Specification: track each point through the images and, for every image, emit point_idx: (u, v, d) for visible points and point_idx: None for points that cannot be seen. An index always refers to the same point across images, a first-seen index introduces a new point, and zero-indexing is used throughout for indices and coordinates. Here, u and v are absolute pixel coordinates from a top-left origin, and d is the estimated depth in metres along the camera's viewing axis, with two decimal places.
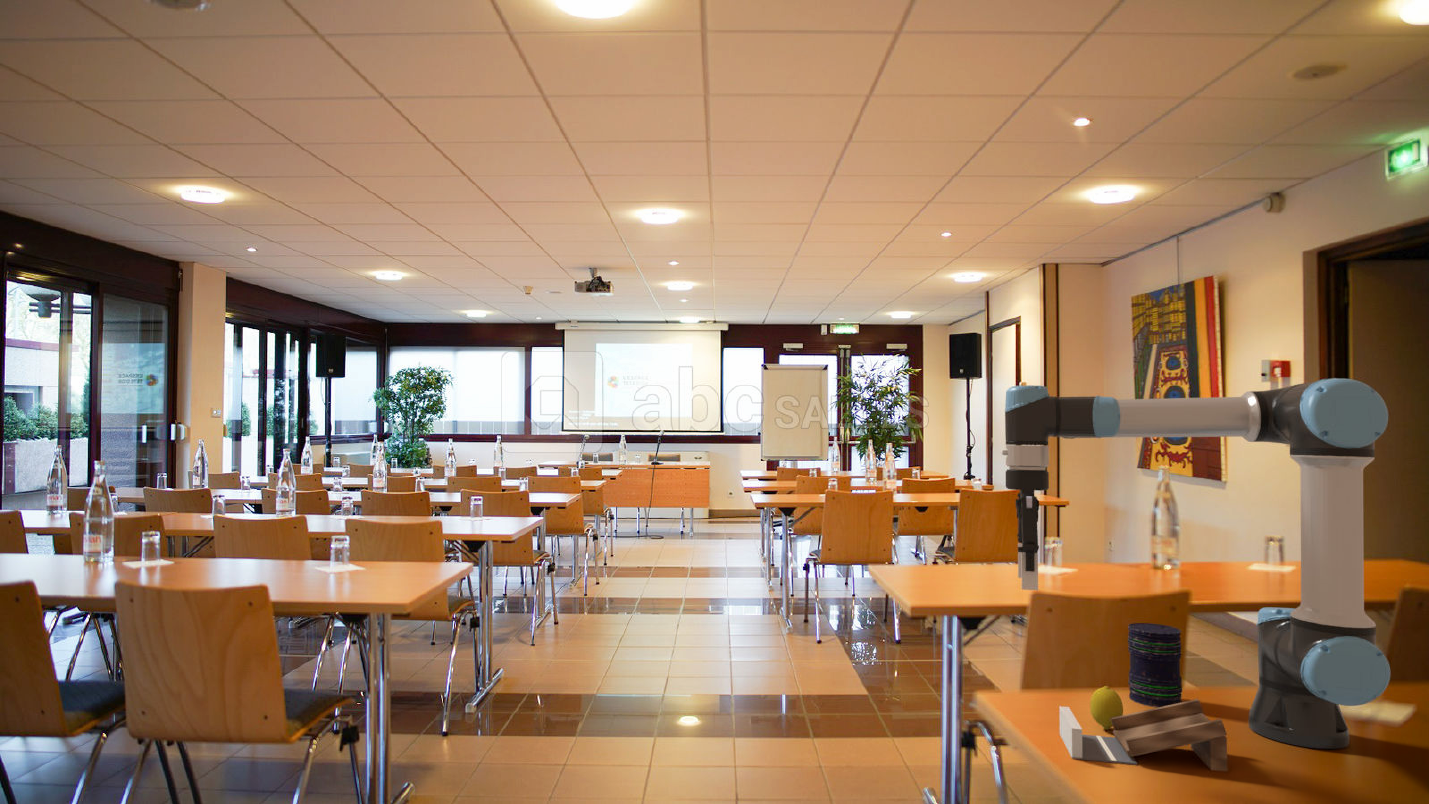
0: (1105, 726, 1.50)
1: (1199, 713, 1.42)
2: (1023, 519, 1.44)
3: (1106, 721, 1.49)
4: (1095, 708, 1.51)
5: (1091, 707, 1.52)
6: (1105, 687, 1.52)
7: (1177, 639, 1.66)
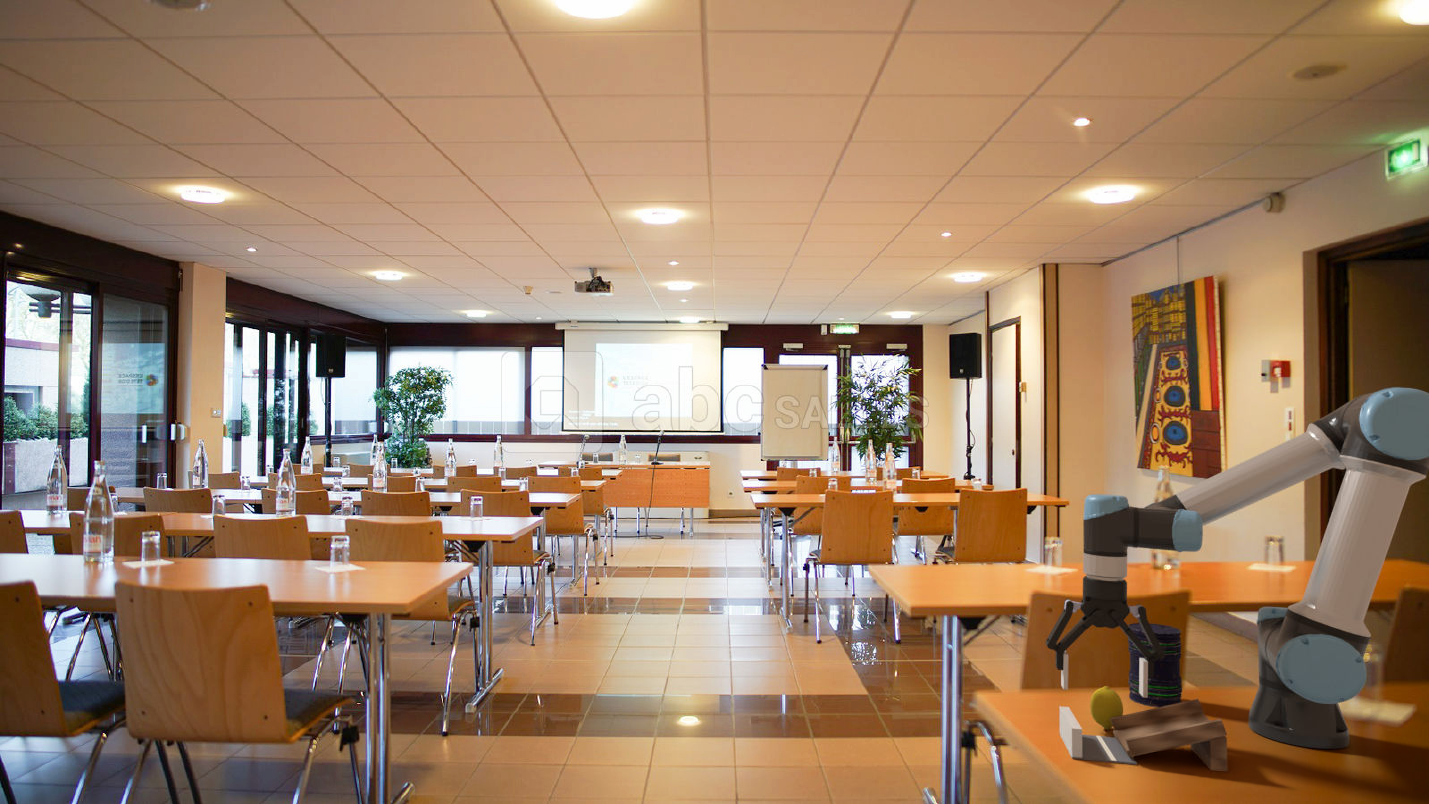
0: (1105, 726, 1.50)
1: (1199, 713, 1.42)
2: (1058, 619, 1.55)
3: (1106, 721, 1.49)
4: (1095, 708, 1.51)
5: (1091, 707, 1.52)
6: (1105, 687, 1.52)
7: (1177, 639, 1.66)
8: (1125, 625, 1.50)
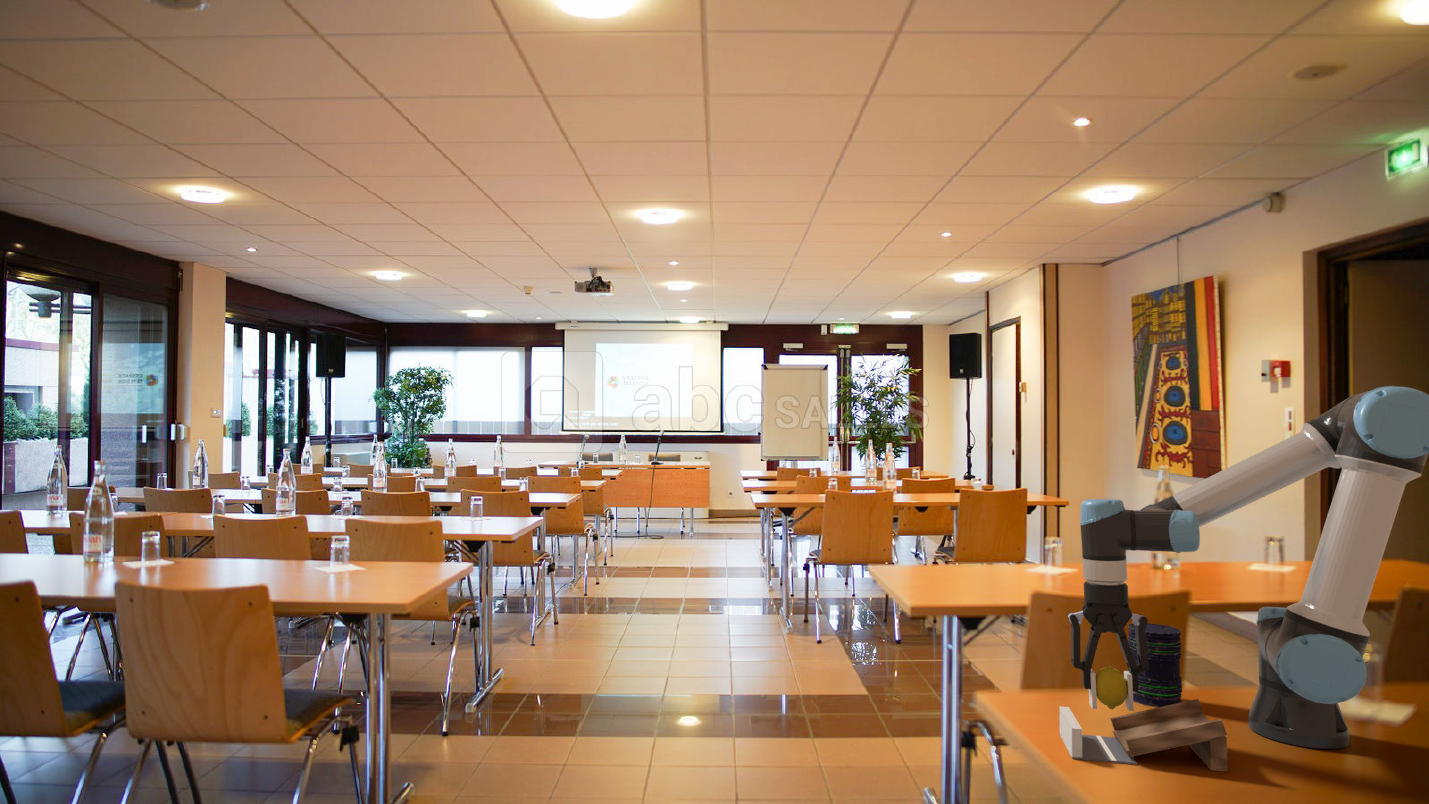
0: (1110, 705, 1.50)
1: (1199, 713, 1.42)
2: (1071, 636, 1.55)
3: (1110, 700, 1.49)
4: (1099, 687, 1.51)
5: None
6: (1108, 666, 1.52)
7: (1177, 639, 1.66)
8: (1123, 632, 1.50)
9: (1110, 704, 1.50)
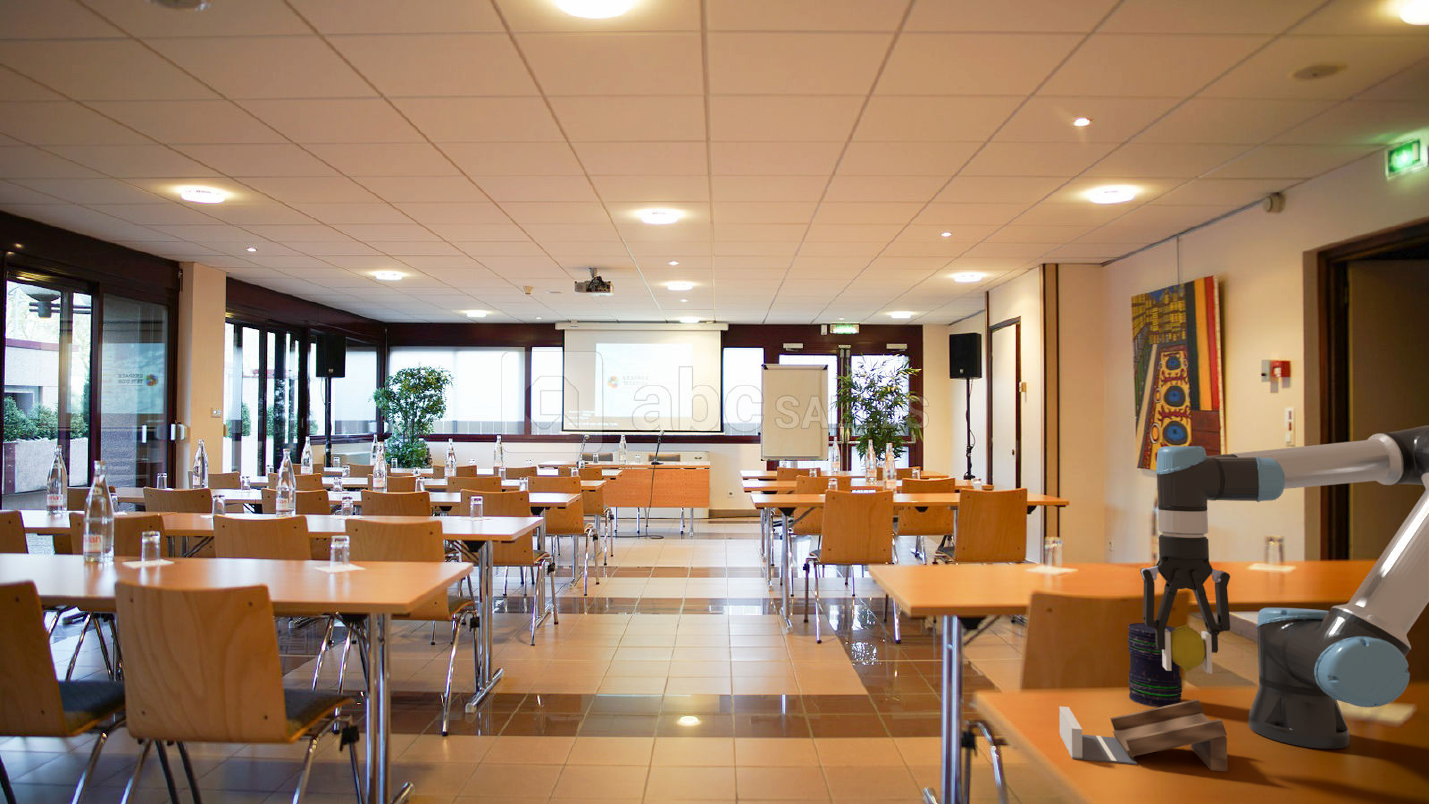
0: (1185, 667, 1.39)
1: (1199, 713, 1.42)
2: (1144, 592, 1.44)
3: (1187, 661, 1.38)
4: (1174, 647, 1.40)
5: None
6: (1184, 626, 1.40)
7: None
8: (1202, 589, 1.39)
9: (1186, 665, 1.39)
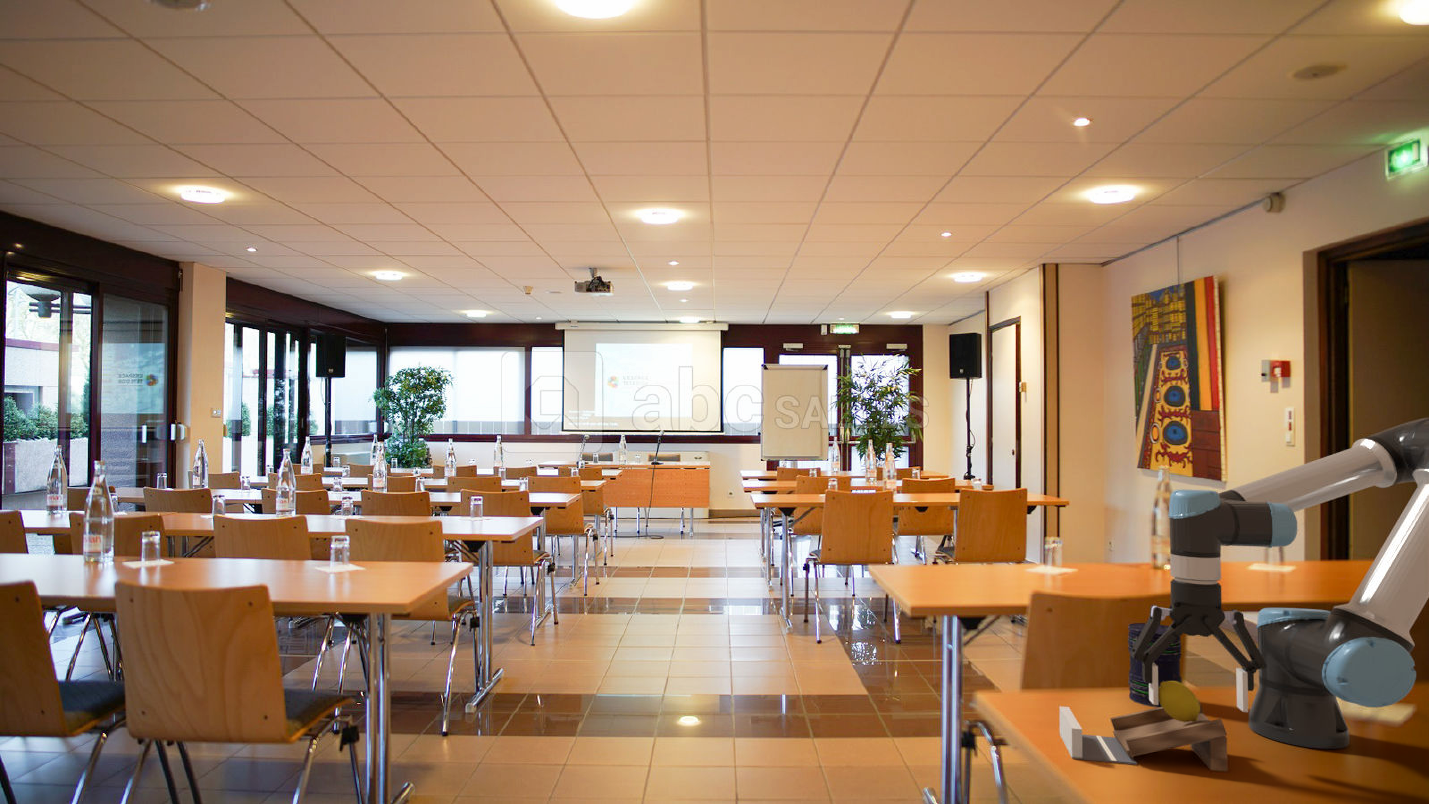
0: (1192, 720, 1.37)
1: (1199, 713, 1.42)
2: (1144, 627, 1.42)
3: (1188, 716, 1.36)
4: (1169, 711, 1.38)
5: (1166, 711, 1.39)
6: (1162, 684, 1.39)
7: (1177, 639, 1.66)
8: (1221, 633, 1.37)
9: (1191, 719, 1.37)
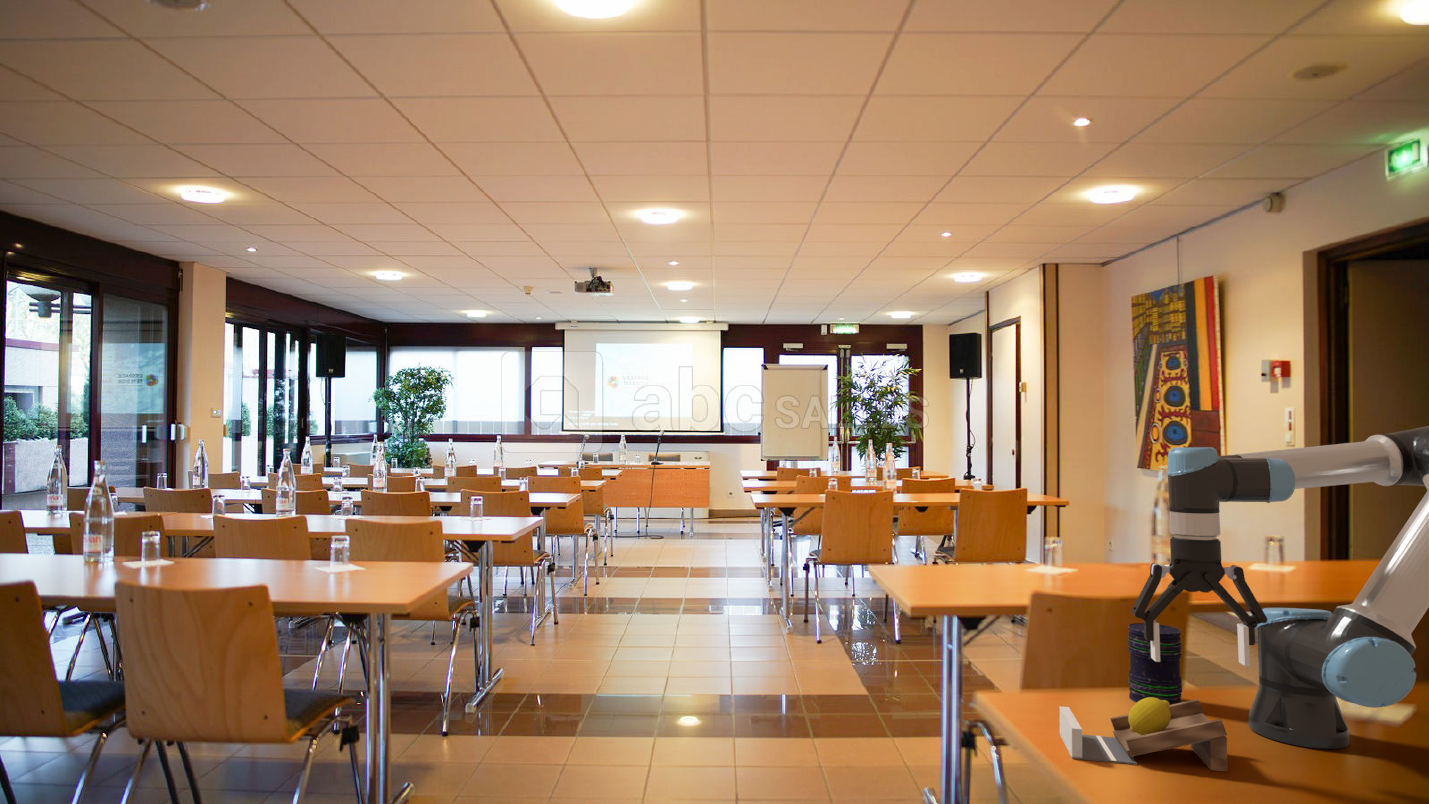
0: (1168, 710, 1.38)
1: (1199, 713, 1.42)
2: (1144, 586, 1.42)
3: (1166, 718, 1.37)
4: None
5: None
6: (1133, 731, 1.39)
7: (1177, 639, 1.66)
8: (1221, 588, 1.37)
9: (1168, 713, 1.37)
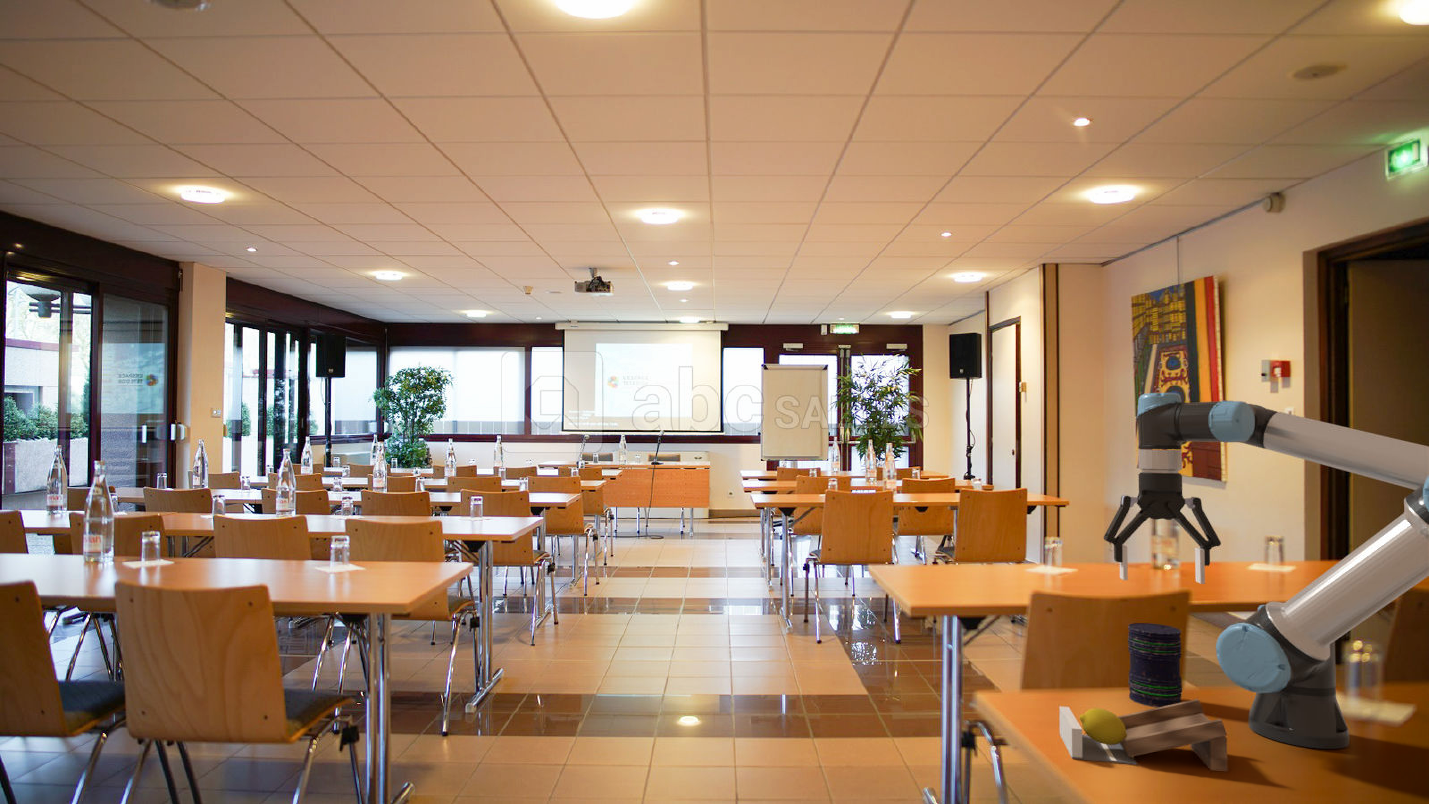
0: (1088, 717, 1.40)
1: (1199, 713, 1.42)
2: (1115, 515, 1.62)
3: (1098, 721, 1.39)
4: (1111, 715, 1.39)
5: (1108, 711, 1.40)
6: (1126, 734, 1.40)
7: (1177, 639, 1.66)
8: (1181, 515, 1.57)
9: (1091, 719, 1.39)
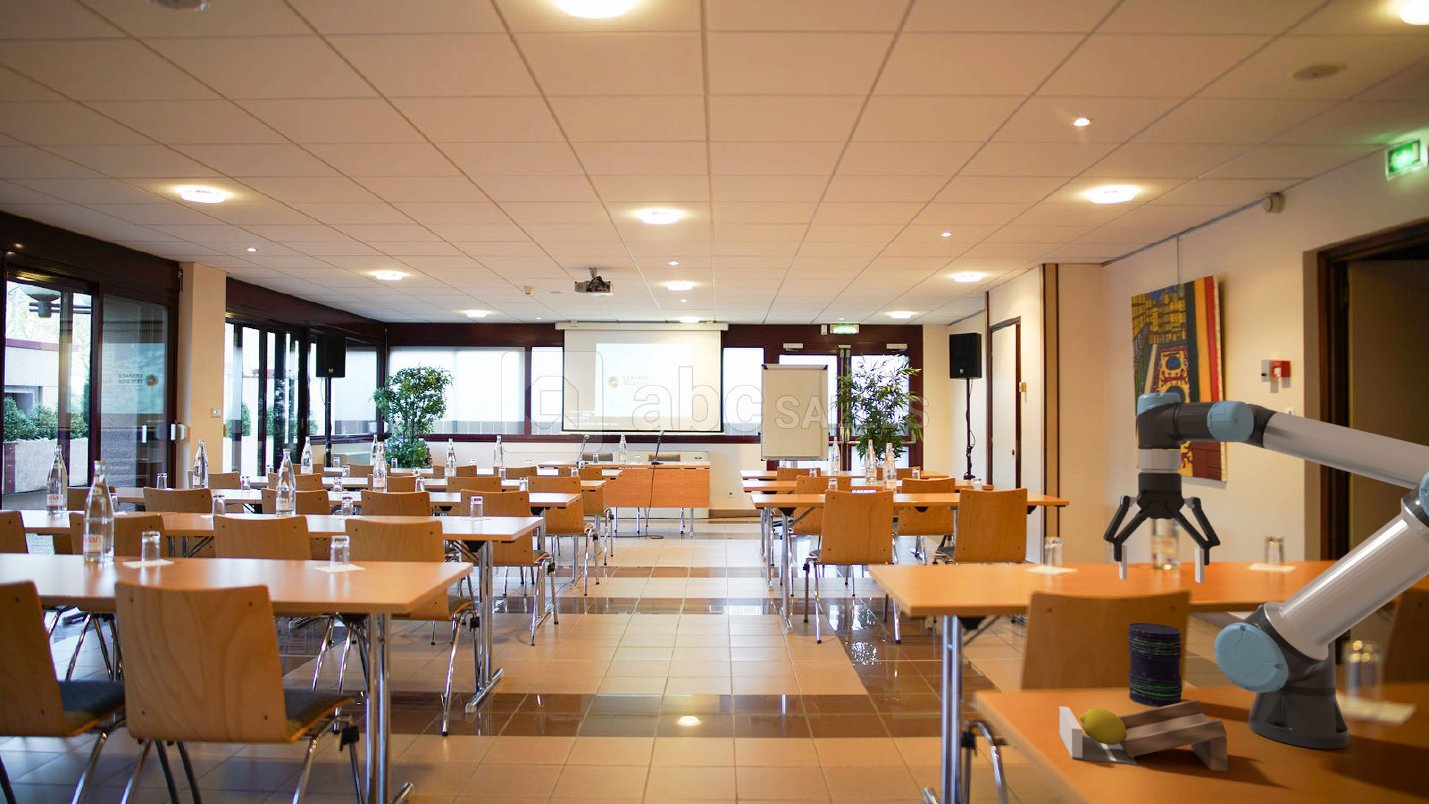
0: (1088, 717, 1.40)
1: (1199, 713, 1.42)
2: (1115, 514, 1.62)
3: (1098, 721, 1.39)
4: (1111, 715, 1.39)
5: (1108, 711, 1.40)
6: (1126, 734, 1.40)
7: (1177, 639, 1.66)
8: (1181, 515, 1.57)
9: (1091, 719, 1.39)
